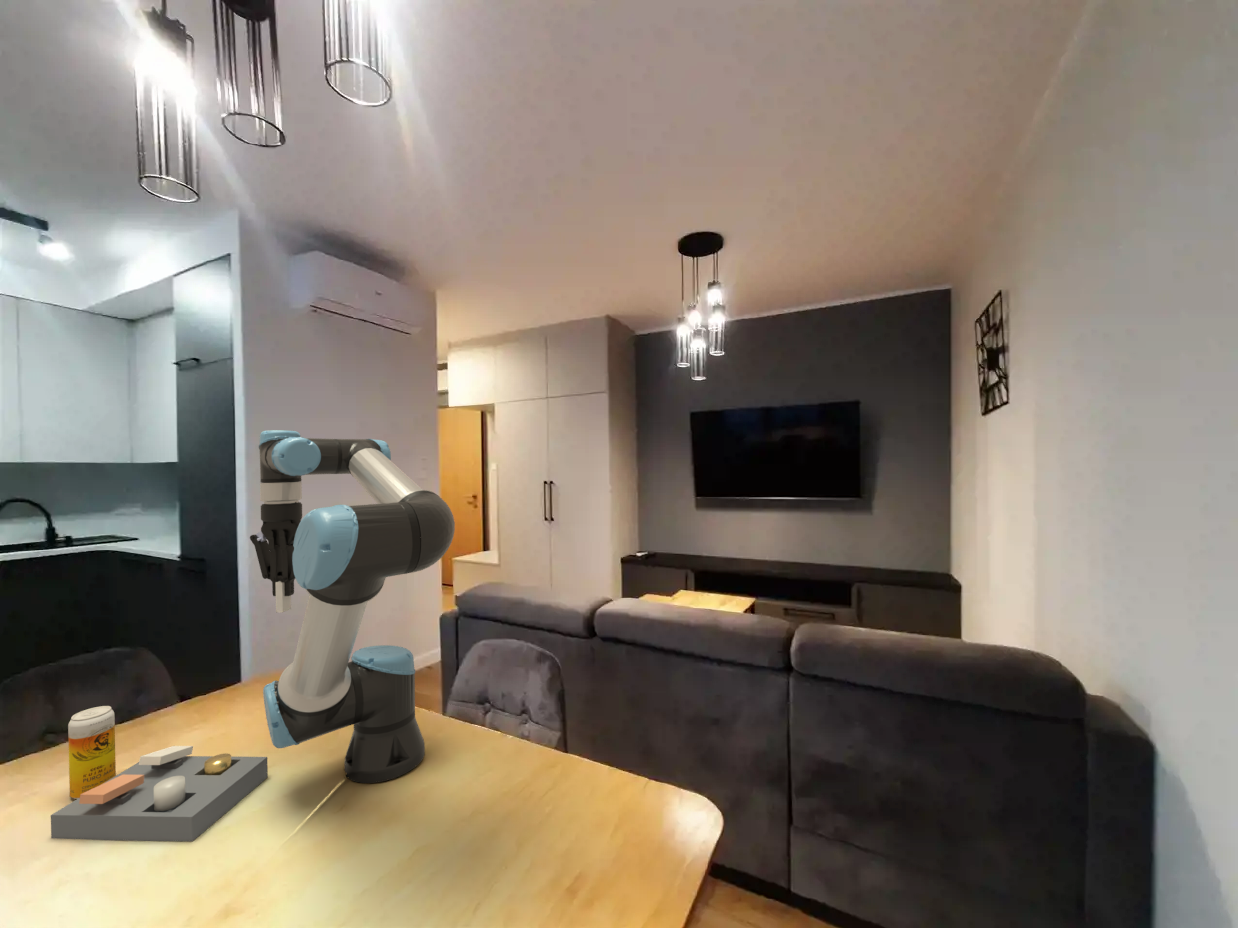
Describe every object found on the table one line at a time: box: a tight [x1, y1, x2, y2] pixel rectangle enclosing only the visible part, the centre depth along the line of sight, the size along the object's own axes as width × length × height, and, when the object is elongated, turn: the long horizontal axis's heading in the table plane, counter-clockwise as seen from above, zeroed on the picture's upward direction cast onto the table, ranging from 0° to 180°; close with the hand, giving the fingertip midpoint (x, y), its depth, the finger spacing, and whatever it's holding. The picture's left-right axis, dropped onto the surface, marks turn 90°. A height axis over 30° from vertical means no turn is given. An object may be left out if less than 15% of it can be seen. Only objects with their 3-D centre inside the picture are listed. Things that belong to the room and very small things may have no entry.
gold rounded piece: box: [204, 753, 232, 775], centre depth 97 cm, size 4×4×4 cm
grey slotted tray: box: [50, 755, 269, 842], centre depth 93 cm, size 24×17×5 cm
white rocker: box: [138, 745, 194, 765], centre depth 98 cm, size 4×7×1 cm, turn 178°
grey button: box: [154, 776, 185, 811], centre depth 87 cm, size 4×4×4 cm
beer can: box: [67, 705, 117, 800], centre depth 97 cm, size 6×6×15 cm
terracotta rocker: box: [79, 775, 144, 804], centre depth 88 cm, size 4×7×1 cm, turn 178°
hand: (283, 610), depth 112 cm, fingers closed
